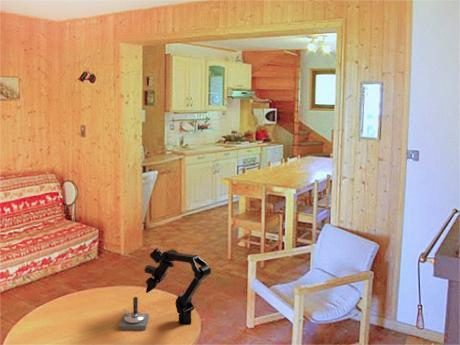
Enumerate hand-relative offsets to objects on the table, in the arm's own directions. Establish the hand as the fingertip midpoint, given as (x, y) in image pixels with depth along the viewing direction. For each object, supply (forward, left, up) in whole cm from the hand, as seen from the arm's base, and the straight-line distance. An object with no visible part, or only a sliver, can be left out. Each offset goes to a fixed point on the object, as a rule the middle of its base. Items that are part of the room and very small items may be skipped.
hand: (149, 289), depth 288 cm
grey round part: (+6, +14, -11) cm, 19 cm away
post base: (+6, +15, -14) cm, 21 cm away
